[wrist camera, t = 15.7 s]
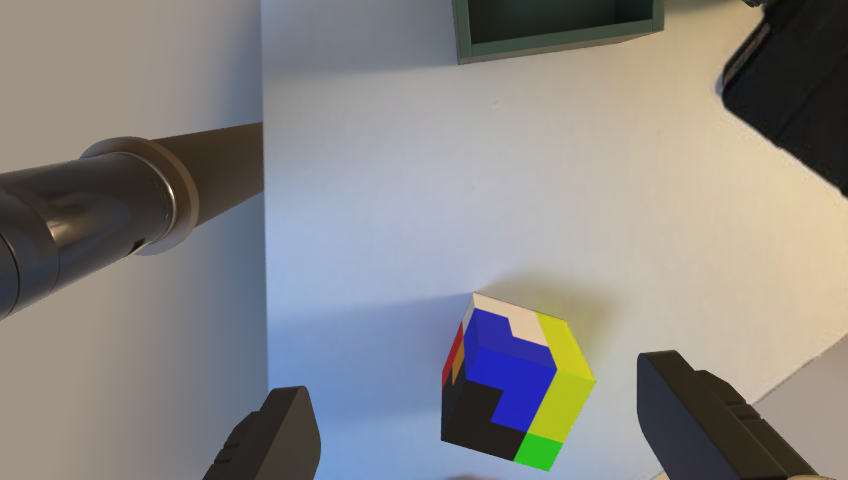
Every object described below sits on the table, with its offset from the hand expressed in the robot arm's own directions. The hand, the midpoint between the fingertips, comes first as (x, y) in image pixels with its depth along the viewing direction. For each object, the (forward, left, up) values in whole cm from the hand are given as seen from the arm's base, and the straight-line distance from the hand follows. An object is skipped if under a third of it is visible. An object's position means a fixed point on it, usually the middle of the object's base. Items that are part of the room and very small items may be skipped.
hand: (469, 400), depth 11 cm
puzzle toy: (+3, -19, -32) cm, 38 cm away
